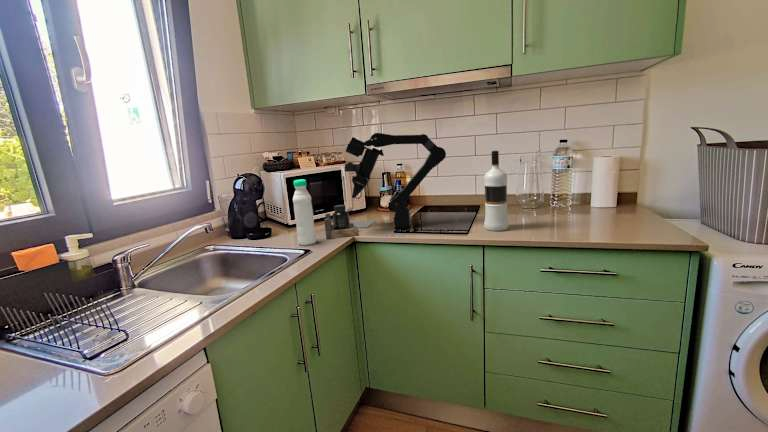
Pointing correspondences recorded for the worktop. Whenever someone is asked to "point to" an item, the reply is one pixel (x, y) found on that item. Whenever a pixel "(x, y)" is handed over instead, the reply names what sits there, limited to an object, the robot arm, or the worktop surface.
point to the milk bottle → (303, 214)
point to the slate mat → (362, 224)
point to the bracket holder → (338, 233)
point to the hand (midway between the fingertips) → (354, 196)
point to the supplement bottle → (340, 218)
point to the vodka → (496, 197)
